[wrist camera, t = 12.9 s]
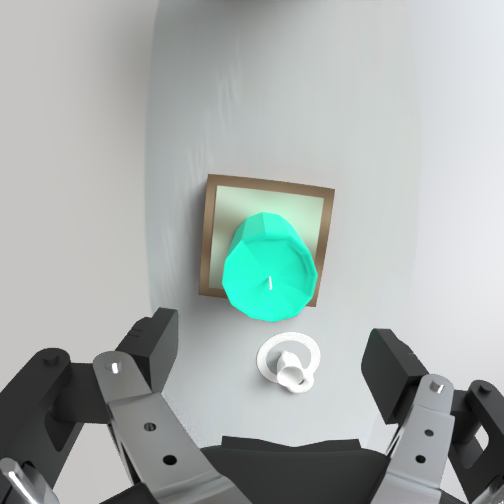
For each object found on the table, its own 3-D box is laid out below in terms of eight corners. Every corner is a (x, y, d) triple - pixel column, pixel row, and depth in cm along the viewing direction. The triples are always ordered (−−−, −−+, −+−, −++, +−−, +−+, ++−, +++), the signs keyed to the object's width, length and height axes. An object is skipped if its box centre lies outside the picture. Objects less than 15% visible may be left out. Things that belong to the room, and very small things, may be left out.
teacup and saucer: (314, 386, 38) (318, 405, 34) (255, 385, 38) (255, 405, 34) (323, 330, 36) (330, 347, 32) (258, 329, 36) (258, 347, 32)
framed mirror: (213, 174, 31) (207, 174, 28) (326, 187, 31) (335, 189, 28) (204, 283, 34) (198, 295, 31) (310, 294, 34) (315, 307, 31)
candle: (309, 250, 29) (340, 298, 18) (258, 284, 30) (258, 350, 19) (273, 198, 28) (284, 215, 16) (221, 236, 29) (197, 276, 17)
